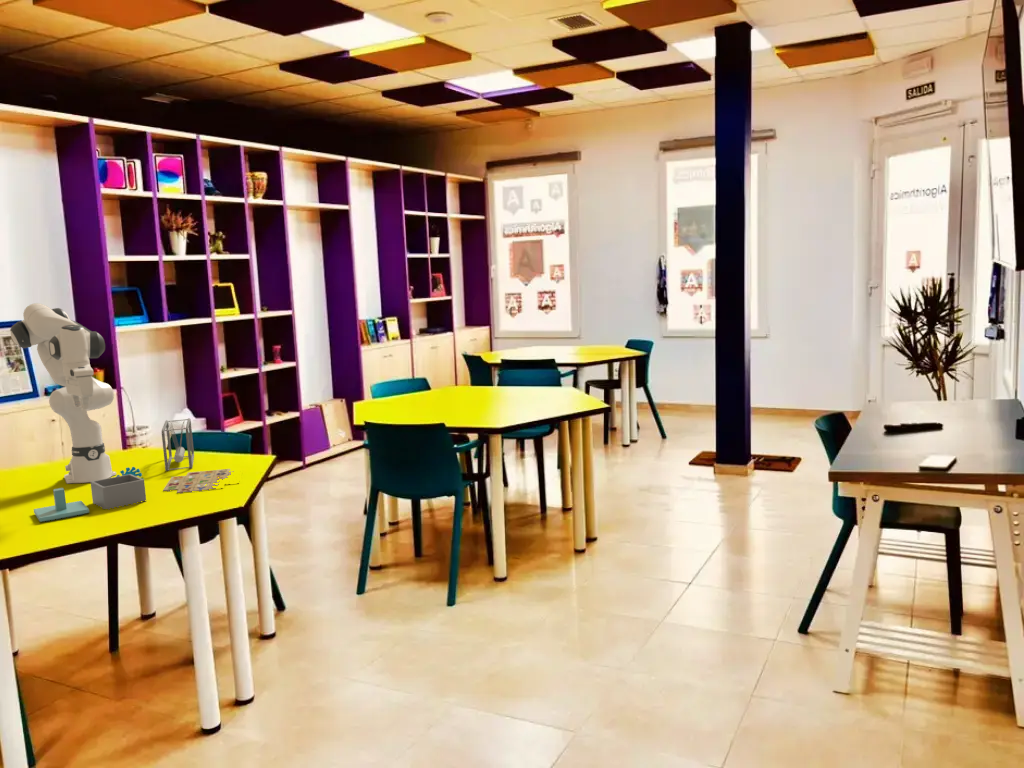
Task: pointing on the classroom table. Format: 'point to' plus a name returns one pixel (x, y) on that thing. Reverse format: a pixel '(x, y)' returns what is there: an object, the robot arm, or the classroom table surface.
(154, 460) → the classroom table surface
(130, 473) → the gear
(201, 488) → the alphabet tiles
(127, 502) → the grey open box
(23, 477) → the classroom table surface
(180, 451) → the newton's cradle
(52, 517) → the lid
